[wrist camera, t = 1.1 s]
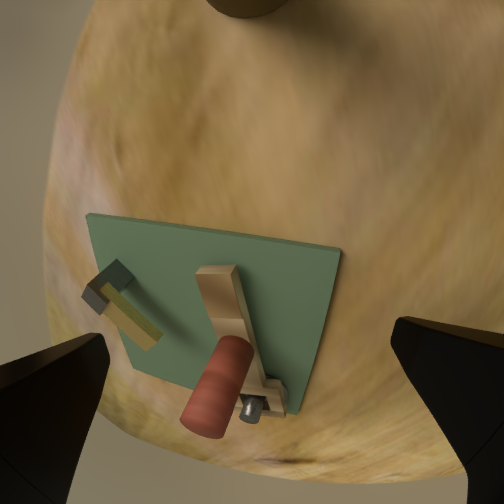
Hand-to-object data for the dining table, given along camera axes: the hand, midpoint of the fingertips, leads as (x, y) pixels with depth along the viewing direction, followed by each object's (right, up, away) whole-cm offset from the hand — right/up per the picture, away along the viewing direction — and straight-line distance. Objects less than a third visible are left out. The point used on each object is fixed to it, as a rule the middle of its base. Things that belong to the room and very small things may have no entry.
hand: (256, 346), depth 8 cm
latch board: (-5, -5, +19) cm, 21 cm away
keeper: (-11, -1, +19) cm, 22 cm away
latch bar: (-1, -7, +18) cm, 19 cm away
